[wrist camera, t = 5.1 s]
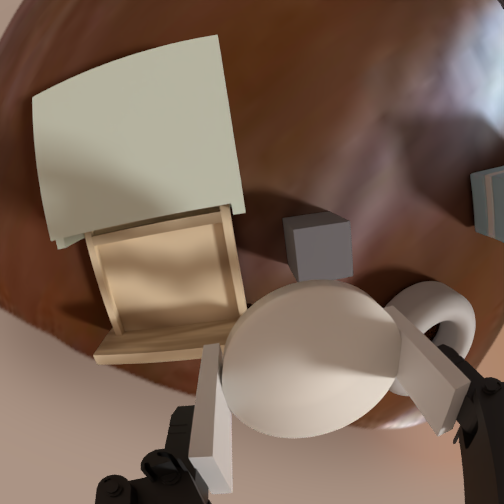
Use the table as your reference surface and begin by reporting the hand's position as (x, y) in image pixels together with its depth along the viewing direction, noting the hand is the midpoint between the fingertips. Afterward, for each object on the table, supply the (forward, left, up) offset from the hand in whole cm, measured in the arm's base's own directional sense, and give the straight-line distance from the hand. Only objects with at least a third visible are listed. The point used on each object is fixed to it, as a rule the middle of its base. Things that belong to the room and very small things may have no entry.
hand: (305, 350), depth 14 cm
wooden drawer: (0, -11, -17) cm, 20 cm away
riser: (-1, +4, -18) cm, 18 cm away
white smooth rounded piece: (0, 0, +1) cm, 1 cm away
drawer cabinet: (-13, -11, -18) cm, 24 cm away
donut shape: (+14, +18, -18) cm, 29 cm away
